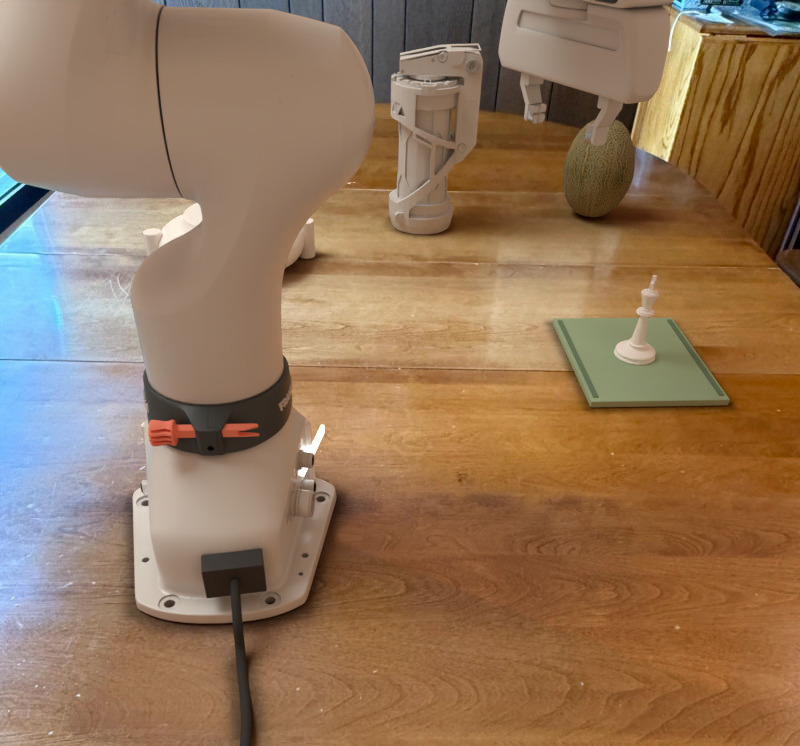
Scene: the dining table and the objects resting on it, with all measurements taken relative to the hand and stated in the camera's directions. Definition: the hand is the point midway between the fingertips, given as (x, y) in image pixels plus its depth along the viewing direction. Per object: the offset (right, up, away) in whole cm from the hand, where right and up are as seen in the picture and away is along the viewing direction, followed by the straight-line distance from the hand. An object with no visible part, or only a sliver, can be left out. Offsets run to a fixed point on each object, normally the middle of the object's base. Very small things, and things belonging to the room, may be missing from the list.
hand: (563, 132), depth 82 cm
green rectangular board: (+11, -21, +13) cm, 27 cm away
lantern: (-13, +8, +45) cm, 47 cm away
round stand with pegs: (-42, -3, +32) cm, 52 cm away
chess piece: (+11, -21, +13) cm, 27 cm away
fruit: (+15, +12, +50) cm, 53 cm away
